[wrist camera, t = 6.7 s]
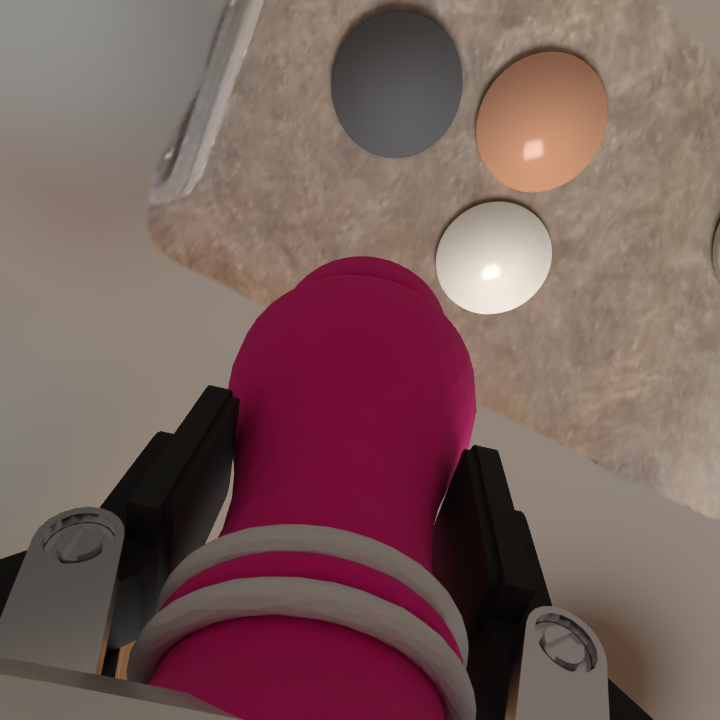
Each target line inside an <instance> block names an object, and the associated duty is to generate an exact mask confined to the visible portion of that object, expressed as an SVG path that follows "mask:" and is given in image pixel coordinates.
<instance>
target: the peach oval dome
mask: <svg viewBox="0 0 720 720" xmlns="http://www.w3.org/2000/svg"><path fill="white" fill-rule="evenodd" d="M607 118H608V104H607V97H606V93H605V90H604V87H603V85H602V82H601V80H600V78H599V77H598V75H597V74H596V72H595V71H594V70H593V69H592V68H591V67H590V66H589V65H588V64H587V63H585V62H584V61H583V60H581V59H579V58H577V57H576V56H573V55H570V54H567V53H562V52H550V51H549V52H541V53H537V54H533V55H530V56H528V57H525V58H523V59H521V60H519V61H517V62H515V63H514V64H512V65H511V66H509V67H508V68H507V69H505V70H504V71H503V72H502V73H501V74H500V75H499V76H498V77H497V78H496V80H495V81H494V82H493V83H492V85H491V86H490V88H489V89H488V91H487V92H486V94H485V96H484V98H483V100H482V103H481V106H480V108H479V112H478V116H477V121H476V143H477V148H478V152H479V155H480V157H481V160H482V162H483V164H484V165H485V167H486V168H487V170H488V171H489V172H490V174H491V175H492V176H493V177H495V178H496V179H497V180H498V181H500V182H501V183H502V184H504V185H506V186H508V187H510V188H512V189H515V190H518V191H524V192H541V191H546V190H550V189H553V188H556V187H559V186H561V185H563V184H565V183H566V182H568V181H570V180H571V179H573V178H574V177H575V176H576V175H578V174H579V173H580V172H581V171H582V170H583V169H584V168H585V167H586V166H587V165H588V164H589V162H590V161H591V160H592V158H593V157H594V155H595V154H596V152H597V150H598V148H599V146H600V144H601V142H602V140H603V137H604V134H605V130H606V125H607Z"/></svg>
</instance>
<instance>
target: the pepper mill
mask: <svg viewBox="0 0 720 720" xmlns="http://www.w3.org/2000/svg"><path fill="white" fill-rule="evenodd" d="M228 389H229V390H232V391H233V397H237V398H239V399H240V406H239V413H238V421H237V429H236V437H235V444H234V448H233V461H234V482H233V494H232V500H231V503H230V506H229V510H228V513H227V516H226V519H225V523H224V527H223V529H222V531H221V533H220V535H219V537H218V538H217V539H215V540H213V541H211V542H209V543H207V544H205V545H203V546H202V547H200V548H198V549H197V550H195V551H193V552H192V553H191V554H189V555H188V556H187V557H186V558H185V559H184V560H183V561H182V562H181V563H180V564H179V565H178V566H177V567H176V568H175V569H174V571H173V572H172V573H171V574H170V576H169V577H168V579H167V580H166V582H165V584H164V585H163V587H162V590H161V592H160V595H159V598H158V601H157V605H156V609H155V616H154V617H153V618H152V619H151V620H150V621H149V622H148V623H147V624H146V625H145V627H144V628H143V629H142V631H141V632H140V634H139V636H138V638H137V640H136V642H135V644H134V645H133V647H132V650H131V652H130V657H129V662H128V667H127V681H132V682H137V683H142V684H146V685H151V686H156V687H161V688H166V689H171V690H176V691H181V692H186V693H190V694H191V695H192V696H193V697H195V698H198V699H200V700H202V701H204V702H206V703H208V704H210V705H212V706H214V707H216V708H218V709H221V710H223V711H225V712H228V713H230V714H232V715H234V716H237V717H239V718H241V719H244V720H475V719H476V703H475V696H474V690H473V688H472V685H471V682H470V679H469V676H468V673H467V671H466V667H467V661H468V649H469V648H468V638H467V633H466V629H465V626H464V622H463V619H462V616H461V614H460V612H459V610H458V608H457V607H456V605H455V603H454V601H453V599H452V598H451V596H450V594H449V593H448V591H447V590H446V589H445V588H444V587H443V586H442V585H441V584H440V583H439V581H438V580H437V579H436V578H435V577H434V576H433V572H432V552H433V532H434V522H435V519H436V515H437V511H438V508H439V506H440V504H441V501H442V499H443V497H444V495H445V493H446V491H447V489H448V487H449V485H450V482H451V480H452V477H453V475H454V472H455V469H456V467H457V464H458V461H459V459H460V456H461V454H462V451H463V450H464V449H468V447H469V443H470V438H471V434H472V429H473V424H474V420H475V415H476V398H475V385H474V372H473V367H472V363H471V360H470V356H469V353H468V351H467V348H466V346H465V344H464V342H463V340H462V338H461V336H460V334H459V333H458V331H457V330H456V328H455V327H454V326H453V325H452V323H451V322H450V321H449V320H448V318H447V317H446V316H445V315H444V313H443V310H442V308H441V305H440V303H439V301H438V299H437V298H436V296H435V294H434V293H433V292H432V290H431V289H430V288H429V287H428V285H427V284H426V283H425V282H424V281H423V280H422V279H421V278H420V277H418V276H417V275H416V274H414V273H413V272H411V271H410V270H409V269H407V268H405V267H403V266H401V265H399V264H396V263H394V262H391V261H389V260H384V259H380V258H375V257H367V256H359V257H348V258H343V259H339V260H334V261H332V262H330V263H327V264H325V265H322V266H321V267H319V268H318V269H316V270H314V271H313V272H312V273H310V274H309V275H307V276H306V277H305V278H304V279H303V280H302V281H301V282H300V283H299V284H298V285H297V286H296V287H295V289H293V290H291V291H289V292H288V293H286V294H284V295H283V296H281V297H280V298H279V299H277V300H276V301H275V302H273V303H272V304H271V305H269V306H268V307H267V309H266V310H265V311H264V312H263V313H262V314H261V315H260V316H259V317H258V318H257V319H256V321H255V322H254V324H253V325H252V327H251V328H250V330H249V331H248V333H247V335H246V337H245V339H244V342H243V344H242V346H241V348H240V350H239V353H238V355H237V357H236V360H235V362H234V364H233V367H232V373H231V377H230V382H229V387H228Z"/></svg>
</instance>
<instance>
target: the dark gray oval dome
mask: <svg viewBox="0 0 720 720" xmlns="http://www.w3.org/2000/svg"><path fill="white" fill-rule="evenodd" d="M462 81H463V80H462V69H461V64H460V60H459V57H458V54H457V51H456V49H455V47H454V45H453V43H452V41H451V40H450V38H449V37H448V35H447V34H446V33H445V32H444V31H443V30H442V28H441V27H439V26H438V25H437V24H436V23H435V22H433V21H432V20H430V19H429V18H427V17H425V16H423V15H420V14H418V13H414V12H410V11H390V12H385V13H381V14H379V15H376V16H374V17H372V18H370V19H368V20H367V21H365V22H364V23H363V24H361V25H360V26H359V27H358V28H357V29H356V30H355V31H354V32H353V33H352V34H351V35H350V36H349V38H348V39H347V40H346V42H345V43H344V45H343V47H342V49H341V50H340V53H339V55H338V57H337V60H336V64H335V67H334V72H333V79H332V94H333V102H334V107H335V110H336V113H337V116H338V118H339V121H340V123H341V125H342V126H343V128H344V130H345V131H346V133H347V134H348V135H349V136H350V138H351V139H352V140H353V141H354V142H355V143H356V144H358V145H359V146H360V147H362V148H363V149H365V150H366V151H368V152H370V153H372V154H375V155H377V156H381V157H386V158H404V157H409V156H412V155H415V154H418V153H420V152H422V151H424V150H426V149H427V148H429V147H431V146H432V145H433V144H434V143H436V142H437V141H438V140H439V139H440V138H441V137H442V136H443V135H444V133H445V132H446V131H447V129H448V128H449V127H450V125H451V123H452V121H453V119H454V118H455V115H456V113H457V110H458V107H459V104H460V100H461V94H462Z"/></svg>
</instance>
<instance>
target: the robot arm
mask: <svg viewBox="0 0 720 720" xmlns="http://www.w3.org/2000/svg"><path fill="white" fill-rule="evenodd" d="M713 266H714V270H715V274H716V277H717V279H718V280H719V282H720V222H719V225H718V228H717V230H716V233H715V238H714V243H713ZM239 406H240V399H239V398H237V397H233V391H232V390H229V389H224V388H220V387H215V386H211V385H209V386H208V387H207V388H206V389H205V391H204V392H203V393H202V395H201V396H200V398H199V399H198V401H197V402H196V403H195V405H194V406H193V408H192V409H191V411H190V412H189V414H188V415H187V416H186V418H185V419H184V421H183V422H182V423H181V425H180V426H179V428H178V429H177V431H176V432H175V433H174V434H171V433H166V432H162V431H160V432H158V433H157V434H156V435H155V436H154V437H153V438H152V439H151V441H150V442H149V443H148V445H147V446H146V447H145V449H144V450H143V451H142V453H141V454H140V455H139V456H138V458H137V459H136V461H135V462H134V463H133V465H132V466H131V467H130V468H129V470H128V471H127V472H126V474H125V475H124V476H123V478H122V479H121V480H120V482H119V483H118V484H117V486H116V487H115V488H114V490H113V491H112V492H111V493H110V495H109V496H108V497H107V499H106V500H105V501H104V503H103V504H102V505H101V507H100V508H95V507H83V508H74V509H71V510H68V511H65V512H62V513H60V514H58V515H56V516H54V517H52V518H50V519H48V520H47V521H46V522H45V523H44V524H43V525H42V526H41V527H40V528H39V529H38V530H37V532H36V533H35V535H34V536H33V538H32V540H31V543H30V546H29V548H28V550H26V551H23V552H21V553H17V554H15V555H12V556H9V557H6V558H3V559H0V720H244V719H241V718H239V717H237V716H234V715H232V714H230V713H228V712H225V711H223V710H221V709H218V708H216V707H214V706H212V705H210V704H208V703H206V702H204V701H202V700H200V699H198V698H195V697H193V696H192V695H191V694H190V693H186V692H181V691H176V690H171V689H166V688H161V687H156V686H151V685H146V684H142V683H137V682H132V681H127V680H122V679H118V676H119V670H120V664H121V658H122V653H123V646H125V645H127V644H129V643H131V642H133V641H135V640H137V638H138V636H139V634H140V632H141V631H142V629H143V628H144V627H145V625H146V624H147V623H148V622H149V621H150V620H151V619H152V618H153V617H154V616H155V609H156V605H157V601H158V598H159V595H160V592H161V590H162V587H163V585H164V584H165V582H166V580H167V579H168V577H169V576H170V574H171V573H172V572H173V571H174V569H175V568H176V567H177V566H178V565H179V564H180V563H181V562H182V561H183V560H184V559H185V558H186V557H187V556H188V555H189V554H191V553H192V552H193V551H195V550H197V549H198V548H200V547H202V546H203V545H205V543H206V540H207V538H208V536H209V534H210V532H211V530H212V527H213V525H214V523H215V521H216V519H217V516H218V514H219V512H220V510H221V507H222V505H223V503H224V501H225V499H226V496H227V493H228V489H229V484H230V476H231V468H232V460H233V448H234V444H235V437H236V429H237V421H238V413H239ZM432 572H433V576H434V577H435V578H436V579H437V580H438V581H439V583H440V584H441V585H442V586H443V587H444V588H445V589H446V590H447V591H448V593H449V594H450V596H451V598H452V599H453V601H454V603H455V605H456V607H457V608H458V610H459V612H460V614H461V616H462V619H463V622H464V626H465V629H466V633H467V638H468V648H469V649H468V661H467V667H466V671H467V673H468V676H469V679H470V682H471V685H472V688H473V690H474V696H475V703H476V719H475V720H653V719H652V718H651V717H650V716H649V715H648V714H647V713H646V712H644V711H643V710H642V709H641V708H640V707H639V706H638V705H637V704H636V703H635V702H634V701H632V700H631V699H630V698H629V697H628V696H627V695H626V694H625V693H624V692H622V690H620V689H619V688H618V687H617V686H616V685H615V684H614V683H613V682H612V681H611V680H609V679H608V678H607V661H606V656H605V652H604V649H603V647H602V645H601V643H600V641H599V639H598V638H597V636H596V635H595V634H594V633H593V631H592V630H591V629H590V628H589V627H588V626H587V625H586V624H585V623H584V622H583V621H582V620H580V619H579V618H578V617H576V616H575V615H573V614H571V613H570V612H568V611H566V610H563V609H560V608H557V607H552V604H551V600H550V597H549V594H548V590H547V587H546V583H545V580H544V577H543V573H542V570H541V567H540V564H539V560H538V557H537V553H536V550H535V547H534V543H533V540H532V537H531V533H530V530H529V527H528V523H527V520H526V517H525V515H524V514H523V513H522V512H521V511H517V510H514V506H513V502H512V499H511V495H510V492H509V488H508V484H507V481H506V477H505V473H504V470H503V466H502V463H501V459H500V456H499V453H498V451H497V450H494V449H490V448H486V447H481V446H477V445H474V446H472V448H471V450H468V449H464V450H463V451H462V454H461V456H460V459H459V461H458V464H457V467H456V469H455V472H454V475H453V477H452V480H451V482H450V485H449V488H448V490H447V493H446V495H445V498H444V501H443V503H442V506H441V509H440V511H439V514H438V517H437V519H436V522H435V524H434V532H433V552H432Z"/></svg>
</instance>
